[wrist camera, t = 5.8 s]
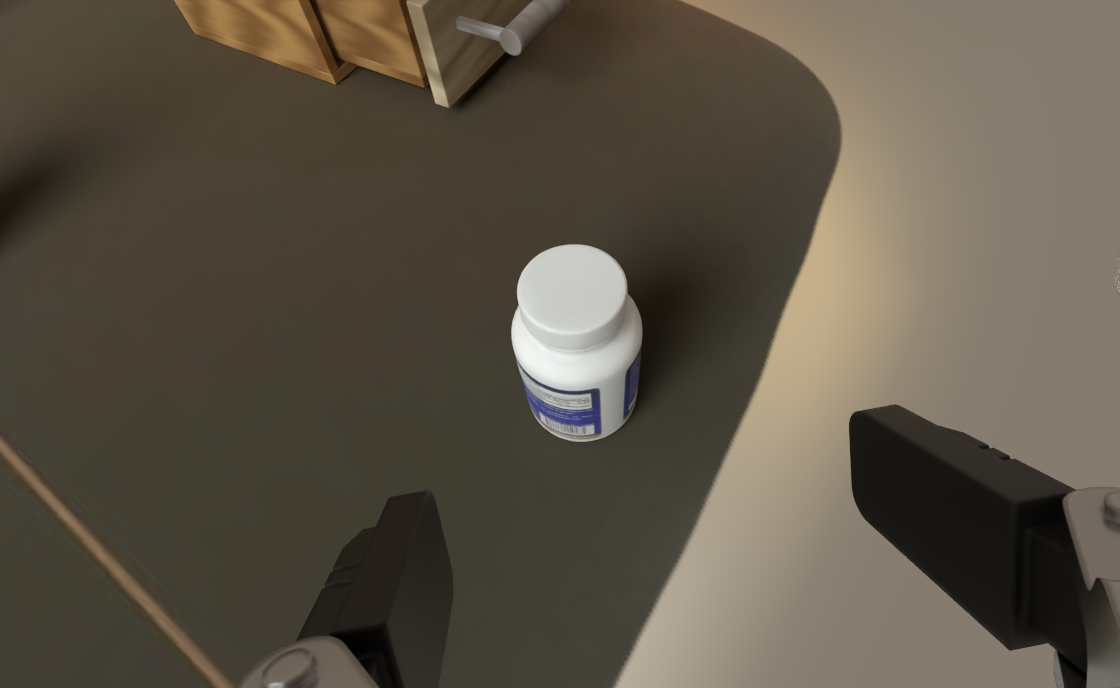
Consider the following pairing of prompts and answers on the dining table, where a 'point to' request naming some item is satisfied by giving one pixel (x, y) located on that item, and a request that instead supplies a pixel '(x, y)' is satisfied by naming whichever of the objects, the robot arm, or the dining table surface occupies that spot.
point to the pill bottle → (577, 342)
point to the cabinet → (269, 33)
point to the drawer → (432, 37)
